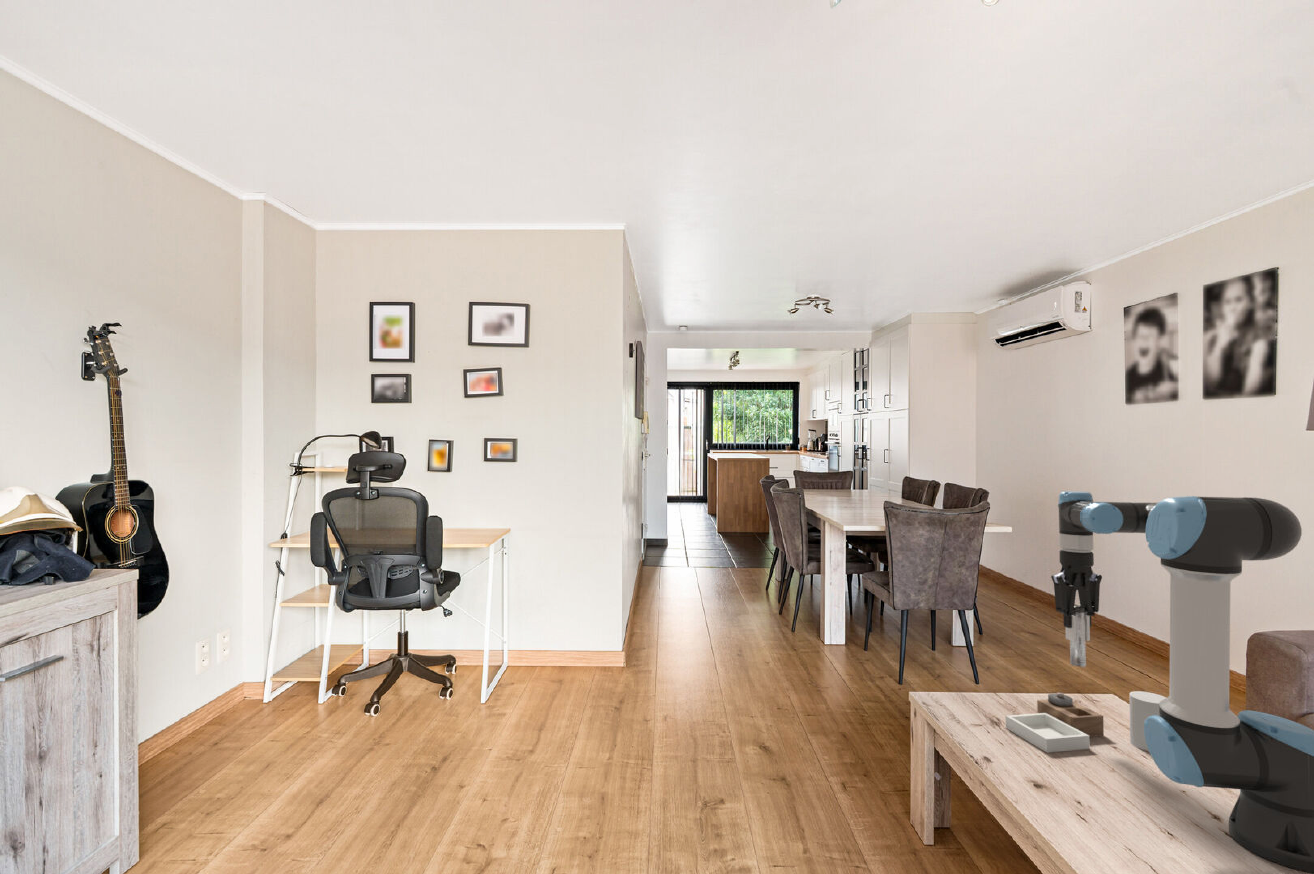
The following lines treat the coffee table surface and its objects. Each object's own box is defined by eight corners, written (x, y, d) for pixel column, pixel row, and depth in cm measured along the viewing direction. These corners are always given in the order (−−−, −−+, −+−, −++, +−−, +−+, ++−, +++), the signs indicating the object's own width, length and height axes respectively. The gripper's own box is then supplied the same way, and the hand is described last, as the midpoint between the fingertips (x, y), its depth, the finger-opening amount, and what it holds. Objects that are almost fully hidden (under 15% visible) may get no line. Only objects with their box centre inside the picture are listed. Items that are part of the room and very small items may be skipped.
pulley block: (1103, 735, 163) (1103, 705, 163) (1073, 737, 162) (1072, 707, 162) (1066, 716, 175) (1065, 688, 175) (1037, 718, 173) (1037, 690, 174)
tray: (1089, 748, 156) (1089, 735, 156) (1046, 752, 154) (1046, 739, 154) (1045, 724, 169) (1045, 712, 169) (1005, 727, 167) (1005, 715, 167)
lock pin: (1089, 666, 164) (1088, 607, 165) (1077, 667, 164) (1076, 608, 164) (1078, 662, 168) (1077, 604, 168) (1067, 662, 167) (1066, 605, 168)
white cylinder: (1178, 749, 155) (1177, 700, 156) (1160, 756, 152) (1159, 705, 152) (1141, 736, 163) (1140, 689, 163) (1123, 742, 159) (1122, 694, 160)
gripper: (1091, 547, 172) (1092, 634, 171) (1037, 548, 169) (1039, 636, 168) (1115, 551, 164) (1117, 642, 164) (1060, 552, 161) (1061, 645, 161)
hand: (1077, 639), depth 166 cm, fingers closed on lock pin, 3 cm apart
